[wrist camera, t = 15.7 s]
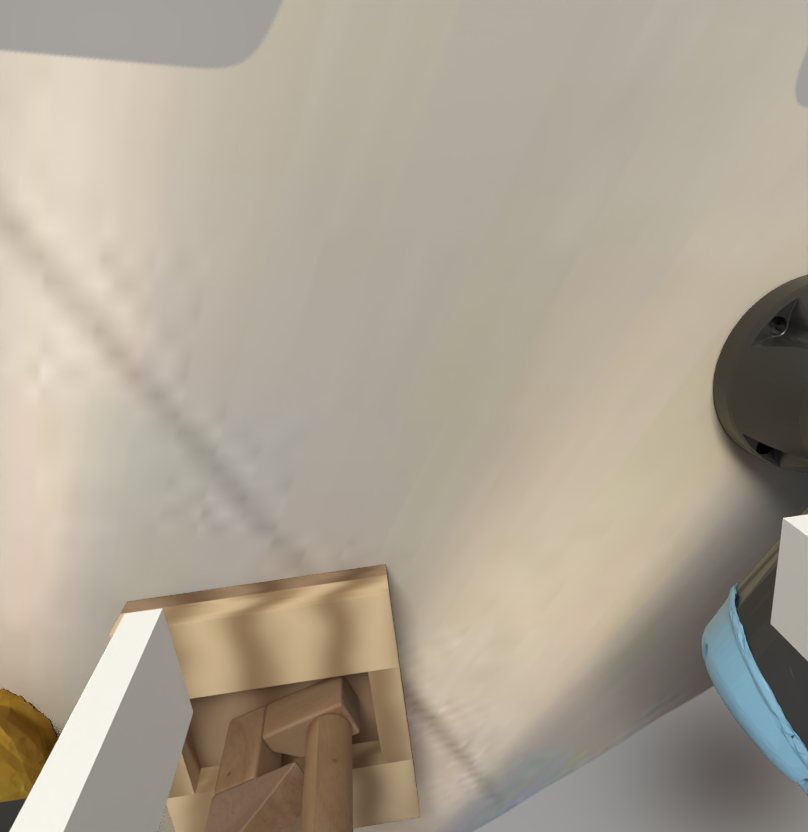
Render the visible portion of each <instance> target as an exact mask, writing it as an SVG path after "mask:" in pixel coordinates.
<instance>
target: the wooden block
mask: <svg viewBox="0 0 808 832" xmlns="http://www.w3.org/2000/svg"><path fill="white" fill-rule="evenodd" d="M359 731H360V718H359V699H358V698H357V696H356V695H355V693H354V691H353V690H352V688H351V687H350V685H349V684H348V682H347V681H346V679H345V677H344V676H336V677H330V678H327V679H325V680H322V681H320V682H318V683H316V684H313V685H311V686H309V687H306V688H304V689H302V690H300V691H297V692H295V693H293V694H290V695H288V696H286V697H284V698H281V699H279V700H277V701H275V702H272V703H270V704H269V705H268V706H267V707H266V706H262V707H260V708H258V709H255V710H253V711H251V712H249V713H246V714H244V715H242V716H239V717H237V718H235V719H233V720H232V721H231V722H230V723H229V728H228V732H227V737H226V741H225V746H224V750H223V755H222V760H221V764H220V769H219V773H218V778H217V782H216V787H215V791H214V794H215V796H213V798H212V801H211V806H210V810H209V815H208V819H207V824H206V828H205V832H288V831H289V830H290V829H291V827H292V826H293V825H294V823H295V822H296V820H297V819H298V818H299V816H300V815H301V821H300V832H353V771H352V736H353V735H355V734H357V733H359ZM282 754H287V755H292V756H297V757H304V756H305V766H304V772H303V771H302V769H301V768H300V766H299V765H298V764H297V762H292V763H290V764H287V765H285V766H283V767H280V766H281V758H282Z"/></svg>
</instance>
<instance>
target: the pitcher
mask: <svg viewBox="0 0 808 832" xmlns="http://www.w3.org/2000/svg"><path fill="white" fill-rule="evenodd" d="M56 735H57V734H55V731H54V730H53V729H52V724H51V722H50V720H49V719H48V718H46V717H45V716H43V714H42V713H40V712H39V711H36V709H33V706H31V705H30V703H27V702H24V699H23V698H22V697H21V696H16V695H15V694H12V693H11V692H9V691H8V690H4V689H1V690H0V802H6V801H12V800H18V799H25V798H27V797H28V795H29V793H30V792H31V790H32V788H33V786H34V784H35V782H36V780H37V778H38V776H39V775H40V773H41V771H42V769H43V767H44V765H45V763H46V761H47V759H48V758H49V756H50V754H51V752H52V750H53V748H54V746H55V744H56V742H57V741H58V738H57V736H56Z"/></svg>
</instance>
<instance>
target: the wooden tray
mask: <svg viewBox="0 0 808 832" xmlns="http://www.w3.org/2000/svg"><path fill="white" fill-rule="evenodd" d="M161 608H163V611H164V615H165V618H166V622H167V625H168V628H169V632H170V635H171V638H172V642H173V645H174V649H175V652H176V655H177V659H178V662H179V666H180V669H181V672H182V676H183V679H184V682H185V686H186V689H187V693H188V696H189V699H190V703H191V706H192V709H193V715H192V718H191V721H190V725H189V728H188V732H187V735H186V738H185V742H184V745H183V749H182V752H181V755H180V759H179V762H178V766H177V769H176V772H175V776H174V779H173V782H172V786H171V789H170V793H169V796H168V799H167V803H166V804H167V807H168V810H169V813H170V816H171V819H172V822H173V825H174V828H175V831H176V832H205V828H206V824H207V819H208V815H209V810H210V806H211V801H212V798H213V796H215V794H214V791H215V787H216V782H217V778H218V773H219V769H220V764H221V760H222V755H223V750H224V746H225V741H226V737H227V732H228V728H229V723H230V722H231V721H232V720H233V719H235V718H237V717H239V716H242V715H244V714H246V713H249V712H251V711H253V710H255V709H258V708H260V707H262V706H266V707H267V706H268V705H269V704H270V703H272V702H275V701H277V700H279V699H281V698H284V697H286V696H288V695H290V694H293V693H295V692H297V691H300V690H302V689H304V688H306V687H309V686H311V685H313V684H316V683H318V682H320V681H322V680H325V679H327V678H330V677H336V676H344V677H345V679H346V681H347V682H348V684H349V685H350V687H351V688H352V690H353V691H354V693H355V695H356V696H357V698H358V699H359V718H360V731H359V733H357V734H355V735H353V736H352V771H353V828H358V827H364V826H370V825H376V824H382V823H388V822H394V821H401V820H407V819H413V818H419V817H420V811H419V803H418V794H417V786H416V778H415V770H414V763H413V756H412V749H411V742H410V735H409V728H408V720H407V713H406V706H405V699H404V692H403V685H402V678H401V670H400V663H399V656H398V649H397V642H396V635H395V628H394V620H393V613H392V606H391V599H390V592H389V585H388V578H387V570H386V564H385V565H378V566H371V567H364V568H357V569H350V570H343V571H337V572H330V573H323V574H316V575H309V576H302V577H295V578H288V579H281V580H274V581H267V582H260V583H254V584H247V585H240V586H233V587H226V588H219V589H212V590H205V591H198V592H191V593H184V594H178V595H171V596H164V597H157V598H150V599H143V600H136V601H129V602H127V603H126V605H125V607H124V609H123V610H122V612H121V614H120V616H119V618H118V620H117V622H116V623H115V625H114V627H113V629H112V631H111V633H110V635H109V636H110V639H111V638H112V637H113V635H114V633H115V631H116V629H117V627H118V625H119V623H120V621H121V619H122V618H123V616H124V614H127V613H133V612H140V611H147V610H154V609H161ZM292 762H297V764H298V765H299V766H300V768H301V769H302V771H303V772H304V766H305V756H304V757H297V756H292V755H287V754H282V758H281V766H280V767H283V766H285V765H287V764H290V763H292ZM300 821H301V815H300V816H299V818H298V819H297V820H296V822H295V823H294V825H293V826H292V827H291V829H290V830H289V831H288V832H300Z"/></svg>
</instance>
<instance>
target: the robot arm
mask: <svg viewBox="0 0 808 832" xmlns="http://www.w3.org/2000/svg"><path fill="white" fill-rule="evenodd" d="M714 401H715V407H716V411H717V414H718V417H719V420H720V422H721V424H722V426H723V428H724V429H725V431H726V432H727V434H728V435H729V436H730V437H731V438H732V440H733V441H734V442H736V443H737V444H738V445H739V446H740V447H742V448H743V449H745V450H746V451H748V452H749V453H751V454H753V455H754V456H756V457H757V458H759V459H761V460H762V461H764V462H767V463H769V464H771V465H774V466H777V467H780V468H784V469H789V470H795V471H801V472H807V473H808V275H805V276H802V277H799V278H796V279H794V280H791V281H789V282H787V283H785V284H783V285H781V286H779V287H777V288H776V289H774V290H773V291H771V292H769V293H768V294H767V295H765V296H764V297H763V298H761V299H760V300H759V301H758V302H757V303H756V304H754V305H753V306H752V307H751V308H750V309H749V310H748V311H747V312H746V314H745V315H744V316H743V317H742V318H741V319H740V321H739V322H738V323H737V325H736V326H735V327H734V329H733V331H732V332H731V334H730V335H729V337H728V339H727V341H726V343H725V345H724V347H723V349H722V352H721V354H720V357H719V360H718V363H717V367H716V372H715V378H714ZM701 646H702V655H703V658H704V661H705V664H706V668H707V672H708V674H709V676H710V678H711V680H712V683H713V685H714V686H715V688H716V690H717V692H718V693H719V695H720V697H721V698H722V700H723V701H724V703H725V705H726V706H727V707H728V709H729V711H730V712H731V714H732V715H733V716H734V718H735V719H736V720H737V722H738V723H739V724H740V726H741V727H742V728H743V730H744V731H745V732H746V733H747V735H748V736H749V737H750V738H751V740H752V741H753V742H754V743H755V744H756V745H757V747H758V748H759V749H760V750H761V751H762V752H763V753H764V755H765V756H766V757H767V758H768V759H769V760H770V761H771V762H772V763H773V764H774V765H775V766H776V767H777V768H778V769H779V770H780V771H781V772H782V773H783V774H784V775H785V776H786V777H787V778H788V779H789V780H791V781H793V782H797V783H798V784H799V785H800V786H801V787H802V789H803V790H804V791H805V793H806V794H807V795H808V506H807V508H806V509H805V510H804V511H803V512H802V513H801V514H800V516H793V517H787V518H783V522H782V530H781V537H780V539H779V540H778V541H777V542H776V543H775V544H774V545H773V547H772V548H771V549H770V550H769V551H768V552H767V554H766V555H765V556H764V557H763V558H762V559H761V560H760V562H759V563H758V564H757V565H756V566H755V567H754V568H753V569H752V570H751V572H750V573H749V574H748V575H747V576H746V577H745V578H744V579H743V580H742V581H741V582H740V581H739V582H737V583H736V584H735V585H734V586H733V587H732V588H731V590H730V593H729V597H728V598H727V600H726V601H725V602H724V604H723V605H722V606H721V608H720V609H719V610H718V612H717V613H716V614H715V616H714V617H713V618H712V619H711V621H710V622H709V623H708V624H707V626H706V628H705V630H704V632H703V636H702V643H701ZM192 715H193V709H192V706H191V703H190V699H189V696H188V693H187V689H186V686H185V682H184V679H183V676H182V672H181V669H180V666H179V662H178V659H177V655H176V652H175V649H174V645H173V642H172V638H171V635H170V632H169V628H168V625H167V622H166V618H165V615H164V611H163V608H161V609H154V610H147V611H140V612H133V613H127V614H124V616H123V618H122V619H121V621H120V623H119V625H118V627H117V629H116V631H115V633H114V635H113V637H112V638H111V640H110V642H109V644H108V646H107V648H106V650H105V652H104V654H103V655H102V657H101V659H100V661H99V663H98V665H97V667H96V669H95V671H94V672H93V674H92V676H91V678H90V680H89V682H88V684H87V686H86V688H85V689H84V691H83V693H82V695H81V697H80V699H79V701H78V703H77V705H76V706H75V708H74V710H73V712H72V714H71V716H70V718H69V720H68V722H67V724H66V725H65V727H64V729H63V731H62V733H61V735H60V737H59V739H58V741H57V742H56V744H55V746H54V748H53V750H52V752H51V754H50V756H49V758H48V759H47V761H46V763H45V765H44V767H43V769H42V771H41V773H40V775H39V776H38V778H37V780H36V782H35V784H34V786H33V788H32V790H31V792H30V793H29V795H28V797H27V798H25V799H18V800H12V801H6V802H0V832H158V830H159V827H160V823H161V820H162V816H163V813H164V810H165V806H166V803H167V799H168V796H169V793H170V789H171V786H172V782H173V779H174V776H175V772H176V769H177V766H178V762H179V759H180V755H181V752H182V749H183V745H184V742H185V738H186V735H187V732H188V728H189V725H190V721H191V718H192Z"/></svg>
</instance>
